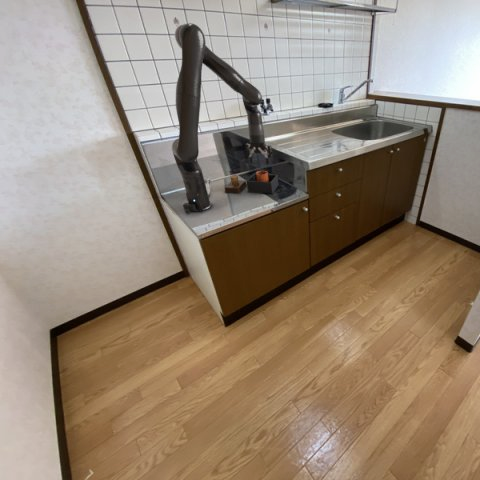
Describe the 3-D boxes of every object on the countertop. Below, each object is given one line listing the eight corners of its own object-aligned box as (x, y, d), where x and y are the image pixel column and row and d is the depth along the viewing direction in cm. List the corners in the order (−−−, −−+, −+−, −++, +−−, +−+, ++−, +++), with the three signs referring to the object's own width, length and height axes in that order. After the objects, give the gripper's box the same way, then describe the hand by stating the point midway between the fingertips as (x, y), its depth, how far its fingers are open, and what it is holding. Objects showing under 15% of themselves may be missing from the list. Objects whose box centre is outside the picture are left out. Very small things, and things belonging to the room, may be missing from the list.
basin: (272, 193, 149) (271, 182, 146) (248, 191, 151) (246, 181, 148) (278, 185, 159) (277, 174, 155) (255, 183, 161) (254, 173, 157)
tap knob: (237, 185, 151) (235, 177, 148) (230, 185, 152) (228, 176, 149) (240, 182, 154) (238, 174, 152) (233, 182, 155) (231, 174, 152)
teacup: (198, 202, 141) (193, 188, 136) (186, 197, 146) (182, 183, 142) (220, 193, 150) (217, 179, 145) (209, 188, 155) (205, 175, 151)
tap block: (239, 193, 150) (238, 188, 148) (225, 192, 151) (224, 187, 149) (246, 185, 159) (245, 180, 157) (233, 184, 160) (232, 179, 158)
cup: (267, 190, 152) (265, 175, 146) (256, 189, 153) (254, 174, 147) (270, 185, 157) (269, 171, 152) (260, 185, 158) (258, 170, 153)
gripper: (240, 133, 135) (245, 165, 145) (267, 135, 133) (270, 167, 143) (246, 130, 141) (250, 161, 151) (272, 131, 139) (274, 162, 149)
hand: (260, 164), depth 147 cm, fingers open, 8 cm apart
